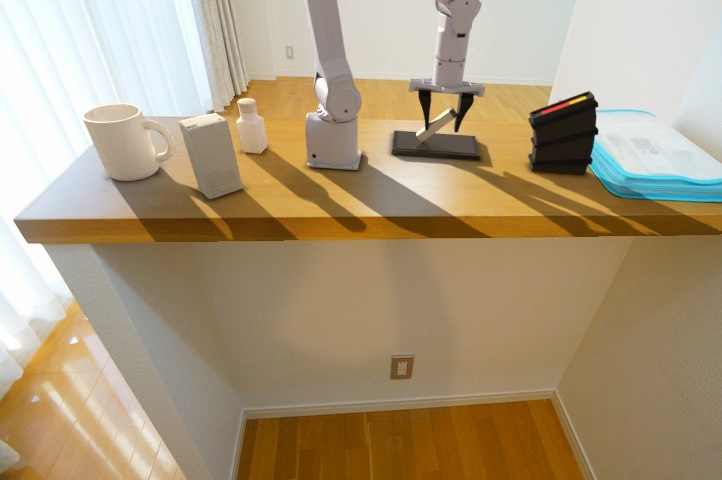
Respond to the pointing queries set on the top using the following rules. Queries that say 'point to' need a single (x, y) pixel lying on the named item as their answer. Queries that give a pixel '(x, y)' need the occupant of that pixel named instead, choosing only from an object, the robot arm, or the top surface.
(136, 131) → the mug
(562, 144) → the magazine
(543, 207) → the top surface
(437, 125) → the cream rectangular bar
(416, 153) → the tray
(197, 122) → the cosmetic box
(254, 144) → the pepper shaker
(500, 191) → the top surface
